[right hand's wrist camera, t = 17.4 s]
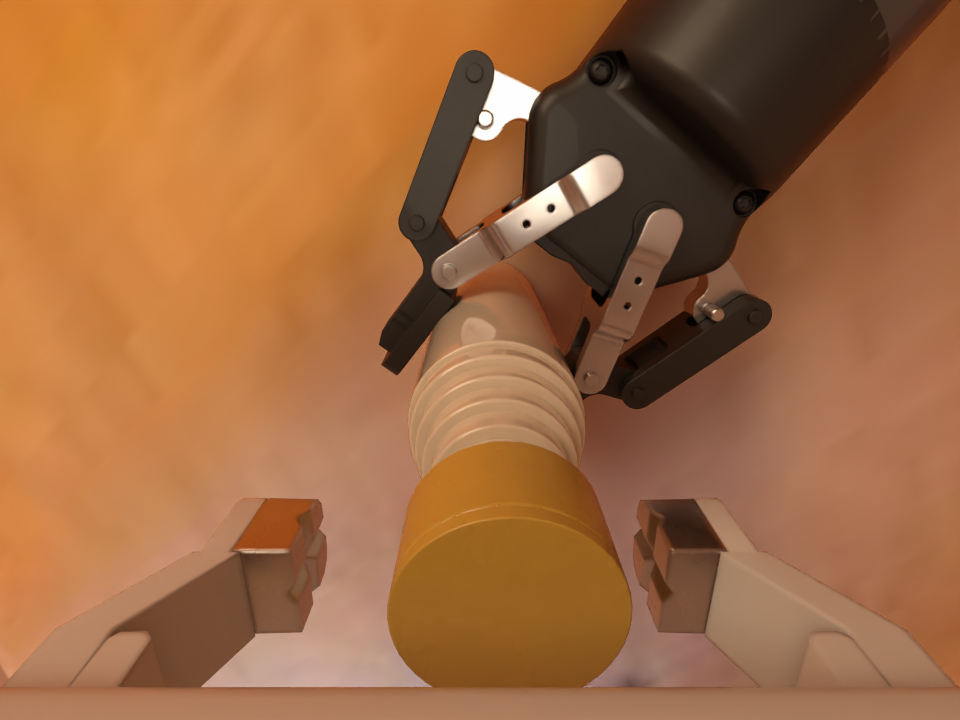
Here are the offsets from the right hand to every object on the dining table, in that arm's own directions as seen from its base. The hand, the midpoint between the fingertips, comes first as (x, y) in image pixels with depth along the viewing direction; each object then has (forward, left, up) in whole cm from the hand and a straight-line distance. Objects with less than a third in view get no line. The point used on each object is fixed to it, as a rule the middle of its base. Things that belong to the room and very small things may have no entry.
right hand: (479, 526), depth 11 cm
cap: (0, 0, +2) cm, 2 cm away
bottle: (0, 0, -16) cm, 17 cm away
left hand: (-2, +1, -10) cm, 10 cm away
